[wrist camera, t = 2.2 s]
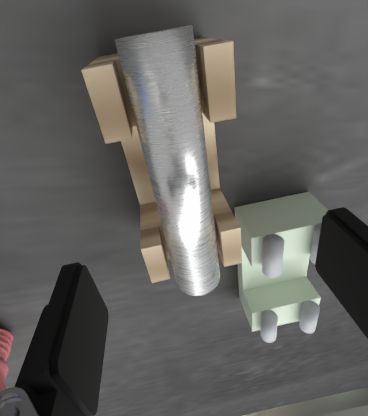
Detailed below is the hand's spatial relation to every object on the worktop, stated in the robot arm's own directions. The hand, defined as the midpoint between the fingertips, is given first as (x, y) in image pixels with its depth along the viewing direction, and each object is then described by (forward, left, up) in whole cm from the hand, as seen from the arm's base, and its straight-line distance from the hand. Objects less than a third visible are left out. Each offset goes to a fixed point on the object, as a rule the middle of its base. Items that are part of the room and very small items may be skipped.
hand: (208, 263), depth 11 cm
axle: (-1, 0, -5) cm, 5 cm away
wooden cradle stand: (-1, 0, -10) cm, 10 cm away
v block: (+11, +7, -10) cm, 17 cm away
